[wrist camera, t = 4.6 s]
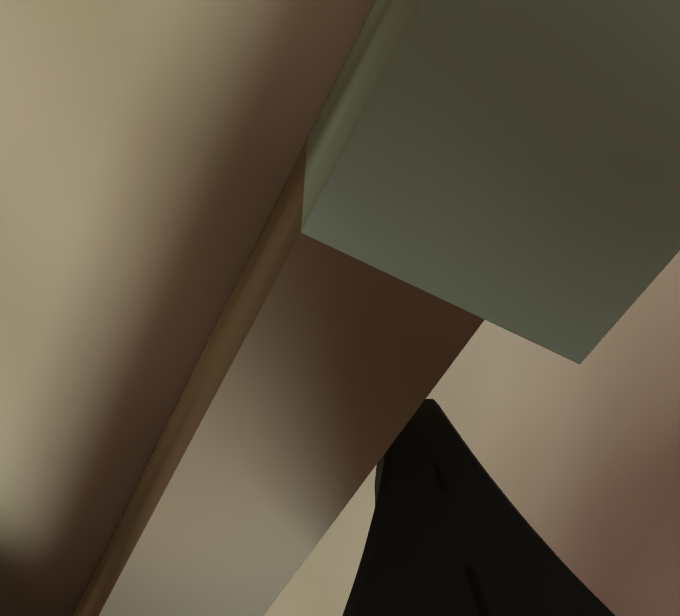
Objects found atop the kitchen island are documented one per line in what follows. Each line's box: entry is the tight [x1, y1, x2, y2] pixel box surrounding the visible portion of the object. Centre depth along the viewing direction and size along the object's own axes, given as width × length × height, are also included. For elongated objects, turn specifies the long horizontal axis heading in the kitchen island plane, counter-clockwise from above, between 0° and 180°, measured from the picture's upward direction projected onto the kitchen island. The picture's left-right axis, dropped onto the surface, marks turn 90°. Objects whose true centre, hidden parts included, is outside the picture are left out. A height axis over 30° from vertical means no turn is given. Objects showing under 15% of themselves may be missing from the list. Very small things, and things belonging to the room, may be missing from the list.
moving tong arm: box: [72, 0, 680, 616], centre depth 9 cm, size 18×3×4 cm, turn 152°
